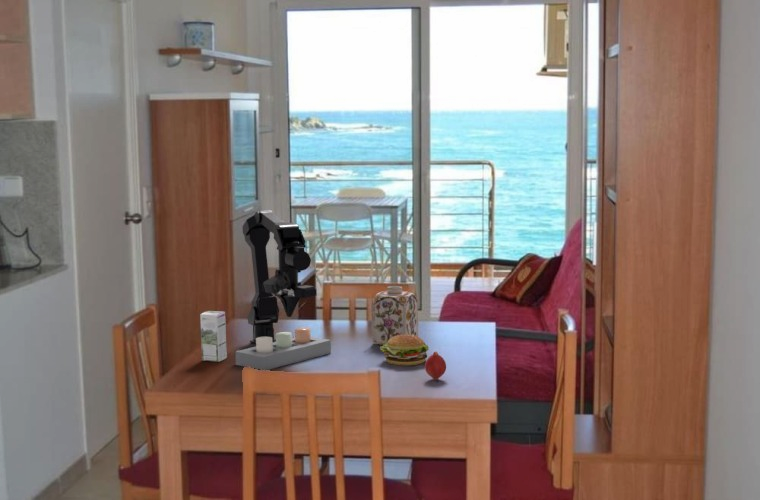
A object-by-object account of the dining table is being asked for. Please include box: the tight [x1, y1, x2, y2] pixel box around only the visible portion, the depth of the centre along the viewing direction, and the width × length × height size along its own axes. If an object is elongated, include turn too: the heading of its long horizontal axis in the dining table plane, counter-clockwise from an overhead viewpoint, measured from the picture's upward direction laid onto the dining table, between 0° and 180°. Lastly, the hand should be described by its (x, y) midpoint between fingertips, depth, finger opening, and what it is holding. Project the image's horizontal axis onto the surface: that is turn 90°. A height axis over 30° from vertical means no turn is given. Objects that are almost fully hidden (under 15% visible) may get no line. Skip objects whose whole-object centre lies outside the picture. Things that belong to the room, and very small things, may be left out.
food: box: [379, 334, 430, 367], centre depth 301 cm, size 14×14×8 cm
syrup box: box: [199, 310, 228, 363], centre depth 307 cm, size 6×6×14 cm
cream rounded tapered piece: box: [255, 337, 273, 354], centre depth 301 cm, size 5×5×6 cm
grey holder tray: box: [235, 336, 332, 371], centre depth 307 cm, size 12×28×4 cm, turn 140°
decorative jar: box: [371, 285, 419, 346], centre depth 327 cm, size 12×12×18 cm
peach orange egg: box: [294, 327, 312, 344], centre depth 313 cm, size 5×5×6 cm
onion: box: [424, 351, 447, 381], centre depth 280 cm, size 6×6×8 cm
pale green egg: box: [275, 331, 293, 349], centre depth 307 cm, size 5×5×6 cm
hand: (289, 316), depth 310 cm, fingers closed
